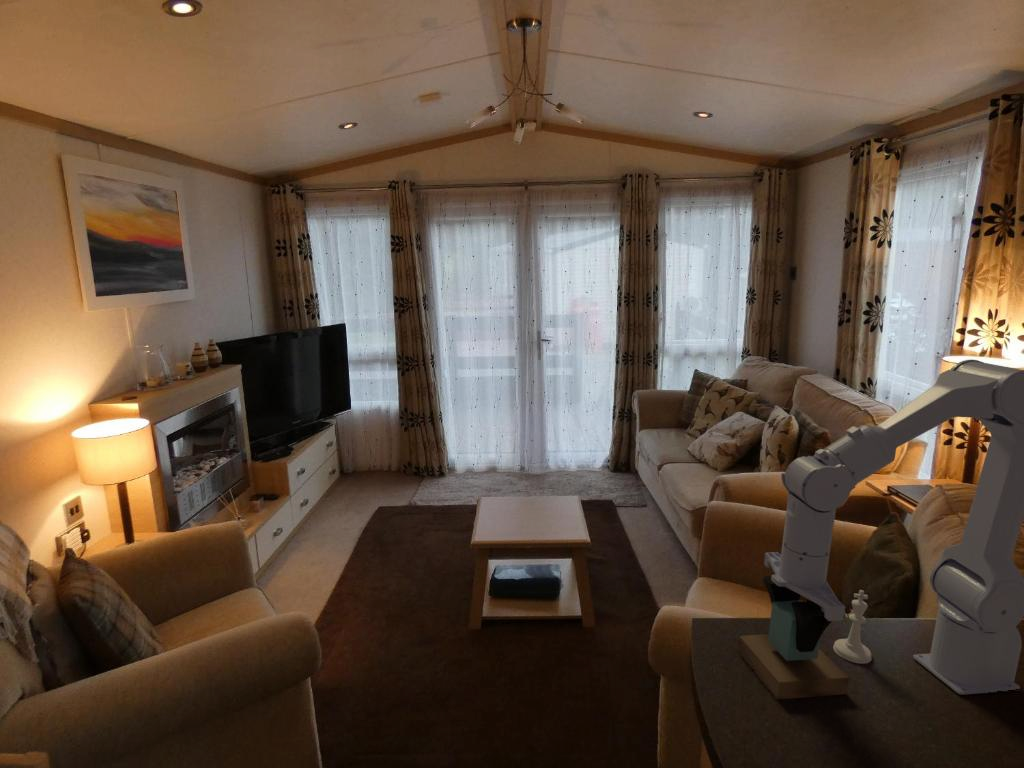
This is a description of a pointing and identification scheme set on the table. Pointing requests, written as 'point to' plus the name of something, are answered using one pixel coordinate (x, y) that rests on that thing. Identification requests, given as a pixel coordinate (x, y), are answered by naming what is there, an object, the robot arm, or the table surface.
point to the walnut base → (792, 671)
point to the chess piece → (855, 635)
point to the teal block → (787, 632)
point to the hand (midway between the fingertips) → (793, 638)
